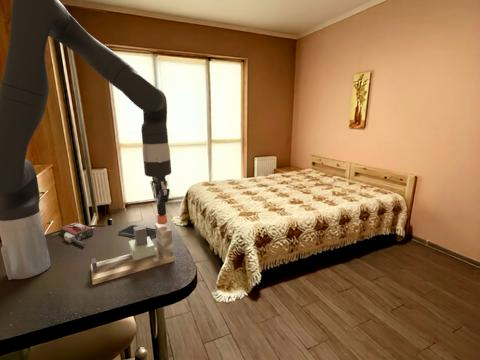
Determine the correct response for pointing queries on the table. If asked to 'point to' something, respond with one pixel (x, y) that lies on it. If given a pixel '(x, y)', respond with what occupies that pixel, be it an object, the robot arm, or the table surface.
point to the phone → (130, 232)
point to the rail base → (129, 265)
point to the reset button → (162, 219)
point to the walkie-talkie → (76, 232)
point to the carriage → (141, 244)
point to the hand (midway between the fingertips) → (162, 214)
